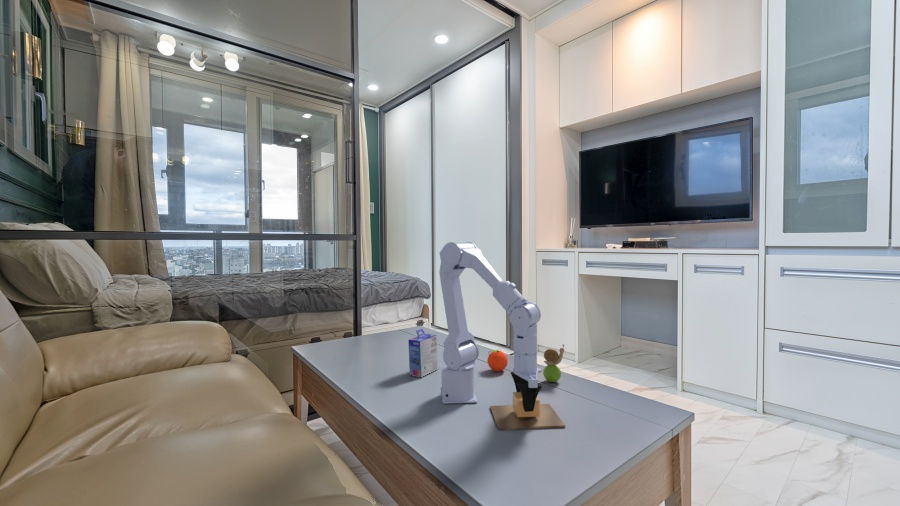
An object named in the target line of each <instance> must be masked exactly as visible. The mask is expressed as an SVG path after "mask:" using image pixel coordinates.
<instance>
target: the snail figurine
mask: <svg viewBox="0 0 900 506" xmlns="http://www.w3.org/2000/svg"><path fill="white" fill-rule="evenodd" d="M564 353H565V344H564V343H563V344H562V347H561V348H559V353H558V351H557V350H556V349H553V348H547V349H546V350H545V351H544V353H543V358H544V359H545V360H543V362H544V363H545V366H544V368H543V369H542V371H543V372H542V373H543V377H544V379H545V380H546V381H547V382H549V383H556V382H558V381H559V380H560V379H561V377H562V372H561V369H560V367H559V366H557V365H559V364H561V362H562V360H563V356H564Z"/></svg>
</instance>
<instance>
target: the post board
mask: <svg viewBox="0 0 900 506" xmlns="http://www.w3.org/2000/svg"><path fill="white" fill-rule="evenodd" d="M489 407H490V408H489V409H490V410H491V414H492V416H493V420H494V422H495V424H496V427H497V430H498V431H509V430H533V429H534V430H536V429H562V428H566V423H564V422H563V421H562V419H561V418H560V417H559V415H558V414H557V412H556V411H555V410H554V408H553V407H552V406H551V404H550V403H539V417H517V415H516V413H515V411H514V409H513V404H512V405H511V404H510V405H509V404H507V405H506V404H505V405H502V404H501V405H490V406H489Z"/></svg>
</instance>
